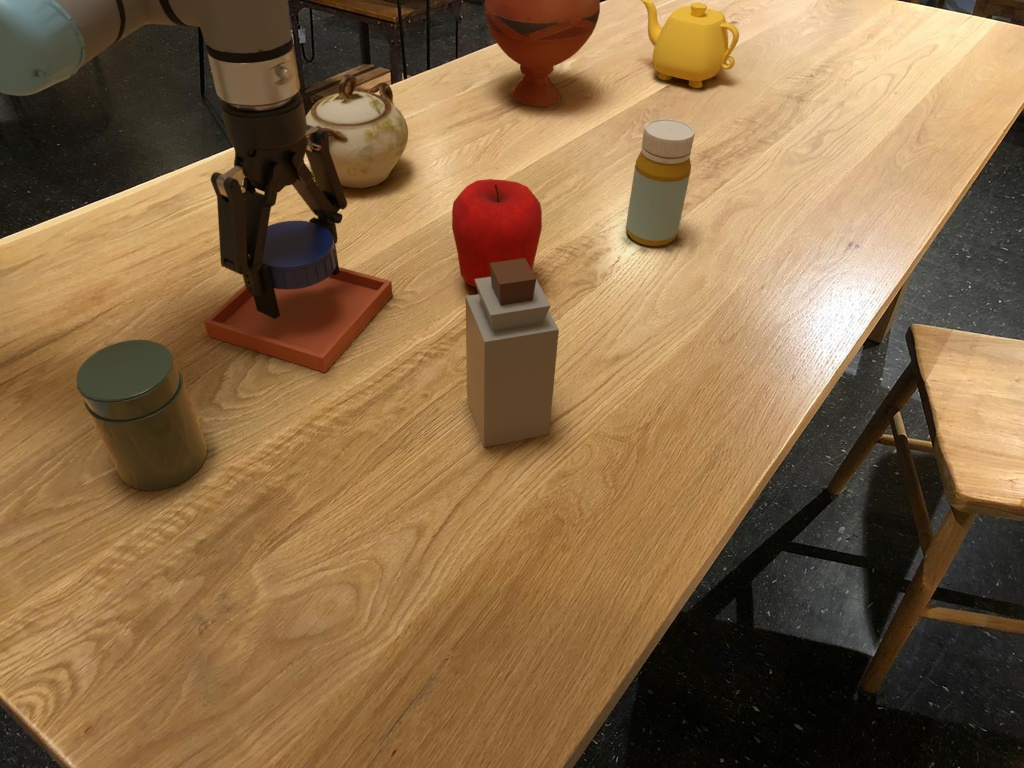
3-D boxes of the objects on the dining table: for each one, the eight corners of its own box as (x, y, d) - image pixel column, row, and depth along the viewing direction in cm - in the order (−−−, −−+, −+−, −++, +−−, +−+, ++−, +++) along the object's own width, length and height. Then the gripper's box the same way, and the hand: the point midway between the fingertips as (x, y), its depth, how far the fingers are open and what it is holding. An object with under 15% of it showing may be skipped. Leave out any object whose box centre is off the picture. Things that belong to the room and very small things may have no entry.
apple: (472, 316, 90) (472, 215, 80) (441, 270, 96) (437, 171, 87) (552, 295, 93) (560, 196, 84) (516, 252, 100) (520, 155, 91)
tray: (207, 336, 86) (203, 321, 84) (285, 265, 96) (282, 251, 95) (325, 372, 82) (322, 358, 80) (392, 295, 92) (391, 281, 91)
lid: (352, 270, 84) (349, 248, 82) (274, 300, 79) (269, 277, 77) (313, 233, 89) (309, 211, 87) (237, 259, 85) (232, 237, 83)
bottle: (662, 217, 107) (681, 114, 97) (685, 244, 102) (708, 138, 92) (617, 225, 106) (631, 120, 95) (638, 252, 101) (656, 145, 90)
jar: (99, 475, 71) (51, 384, 63) (158, 418, 76) (121, 328, 68) (169, 501, 69) (129, 412, 61) (224, 441, 74) (194, 352, 66)
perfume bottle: (549, 434, 76) (562, 287, 64) (483, 447, 75) (485, 299, 62) (528, 389, 81) (538, 244, 69) (467, 400, 79) (465, 254, 67)
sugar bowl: (365, 218, 105) (353, 112, 95) (277, 192, 109) (256, 88, 99) (436, 158, 118) (432, 60, 108) (355, 137, 122) (343, 40, 112)
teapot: (716, 98, 138) (732, 24, 129) (616, 73, 145) (625, 1, 137) (741, 74, 147) (758, 3, 138) (646, 52, 154) (656, -17, 145)
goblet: (565, 129, 127) (579, -37, 110) (463, 105, 133) (461, -56, 116) (605, 89, 140) (623, -65, 123) (510, 68, 145) (515, -82, 128)
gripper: (197, 149, 63) (252, 355, 78) (366, 67, 77) (386, 256, 92) (136, 126, 66) (201, 329, 81) (310, 51, 79) (338, 237, 95)
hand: (299, 290), depth 87 cm, fingers closed on lid, 9 cm apart
